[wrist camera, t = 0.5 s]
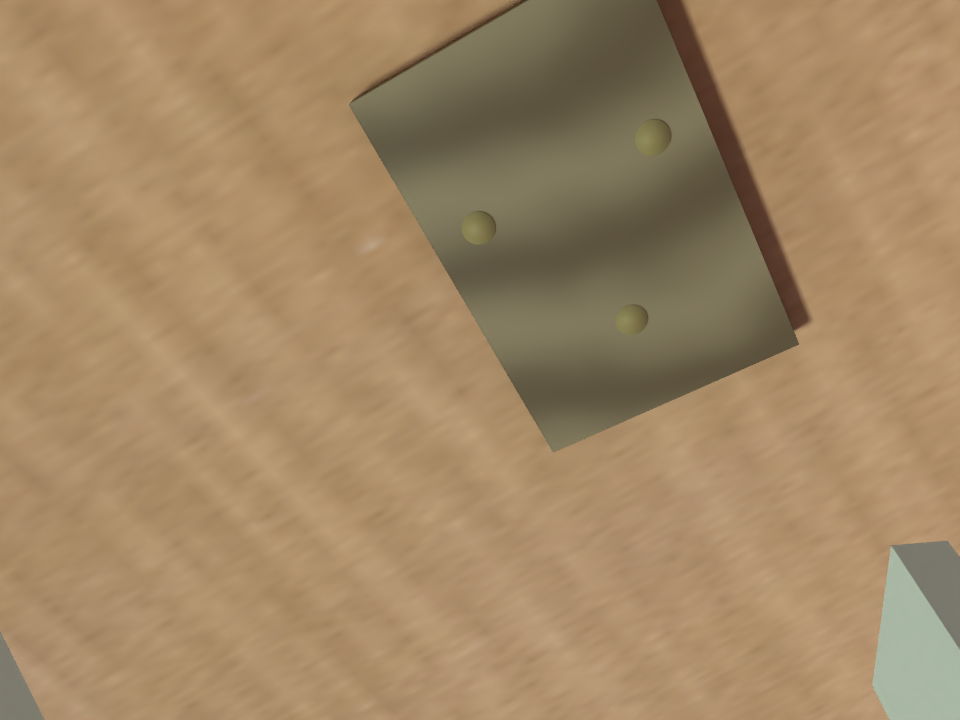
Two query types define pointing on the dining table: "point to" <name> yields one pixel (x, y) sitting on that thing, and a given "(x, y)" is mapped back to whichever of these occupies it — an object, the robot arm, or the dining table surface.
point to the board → (580, 209)
